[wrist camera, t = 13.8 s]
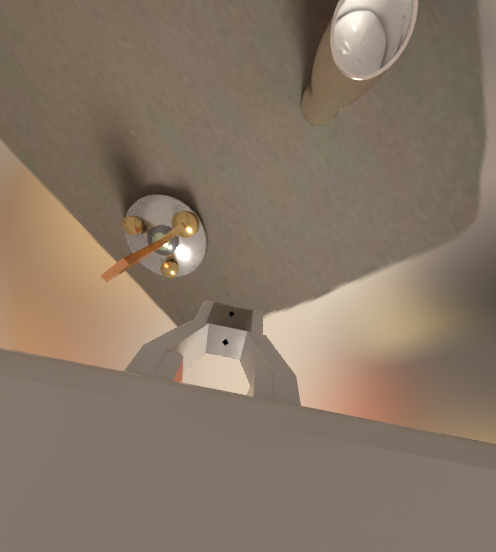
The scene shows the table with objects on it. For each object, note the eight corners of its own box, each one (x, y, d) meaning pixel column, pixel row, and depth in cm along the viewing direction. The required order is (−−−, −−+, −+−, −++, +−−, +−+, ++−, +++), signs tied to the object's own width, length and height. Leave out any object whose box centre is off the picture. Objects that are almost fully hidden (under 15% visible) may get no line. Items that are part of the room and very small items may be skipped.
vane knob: (188, 205, 35) (153, 213, 24) (204, 227, 36) (178, 244, 25) (139, 244, 39) (90, 267, 28) (156, 262, 41) (115, 290, 30)
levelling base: (113, 210, 38) (101, 211, 35) (186, 181, 35) (179, 181, 32) (154, 281, 45) (146, 287, 42) (219, 263, 41) (216, 269, 39)
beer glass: (353, 108, 29) (432, 38, 15) (310, 140, 31) (347, 103, 17) (334, 56, 26) (406, -80, 13) (290, 94, 29) (313, 11, 15)
